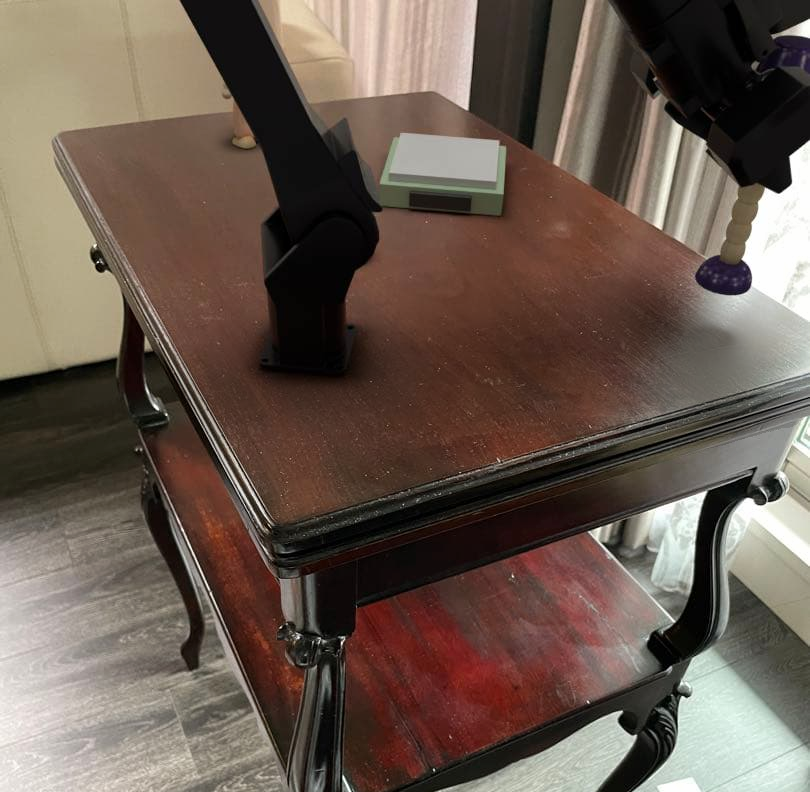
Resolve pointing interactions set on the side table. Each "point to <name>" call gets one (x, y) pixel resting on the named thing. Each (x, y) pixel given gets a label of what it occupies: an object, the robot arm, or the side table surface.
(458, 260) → the side table surface
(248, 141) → the grandmother figurine
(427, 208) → the scale
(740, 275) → the toy lamp
